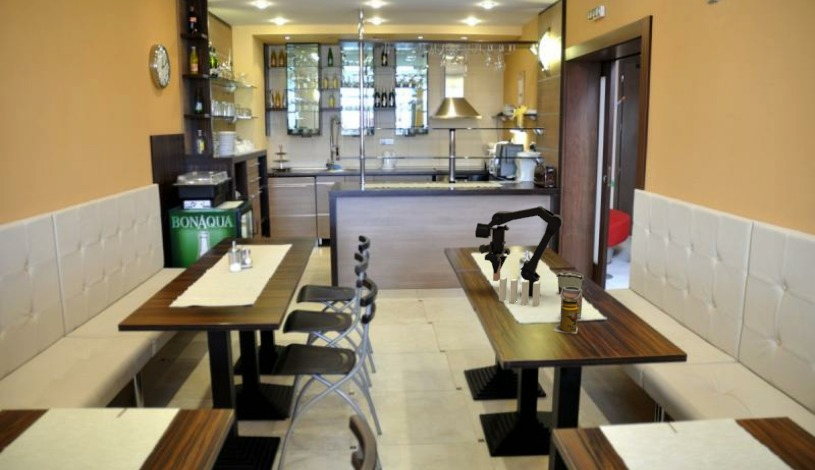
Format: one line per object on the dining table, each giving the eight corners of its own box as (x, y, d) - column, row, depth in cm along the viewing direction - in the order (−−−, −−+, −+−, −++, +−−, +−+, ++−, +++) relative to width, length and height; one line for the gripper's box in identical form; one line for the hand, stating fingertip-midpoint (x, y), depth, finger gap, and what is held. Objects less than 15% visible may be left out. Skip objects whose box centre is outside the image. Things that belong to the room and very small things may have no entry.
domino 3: (517, 301, 272) (518, 279, 270) (514, 303, 268) (515, 281, 266) (512, 300, 272) (513, 278, 271) (509, 302, 269) (510, 280, 267)
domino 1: (500, 279, 286) (500, 258, 285) (497, 281, 283) (498, 259, 281) (495, 278, 287) (496, 257, 286) (493, 280, 284) (493, 259, 282)
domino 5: (539, 304, 267) (540, 281, 265) (536, 306, 264) (537, 283, 262) (534, 303, 268) (535, 281, 266) (532, 305, 264) (533, 283, 263)
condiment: (576, 334, 230) (578, 303, 228) (553, 331, 232) (555, 300, 230) (577, 328, 237) (579, 297, 234) (555, 325, 239) (556, 295, 237)
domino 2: (506, 299, 274) (507, 277, 272) (503, 301, 270) (504, 279, 268) (501, 298, 275) (502, 277, 273) (498, 301, 271) (499, 279, 269)
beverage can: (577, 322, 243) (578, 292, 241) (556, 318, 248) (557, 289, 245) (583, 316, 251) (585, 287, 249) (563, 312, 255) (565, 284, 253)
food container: (585, 294, 284) (586, 272, 282) (582, 297, 278) (584, 275, 276) (558, 290, 289) (559, 270, 287) (555, 294, 283) (556, 272, 281)
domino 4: (528, 302, 269) (529, 280, 267) (525, 304, 266) (526, 282, 264) (523, 302, 270) (524, 279, 268) (520, 304, 267) (521, 281, 265)
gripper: (488, 234, 294) (487, 266, 296) (474, 240, 277) (473, 274, 280) (511, 236, 288) (509, 269, 291) (497, 243, 272) (496, 277, 275)
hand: (496, 272), depth 285 cm, fingers closed on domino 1, 4 cm apart
